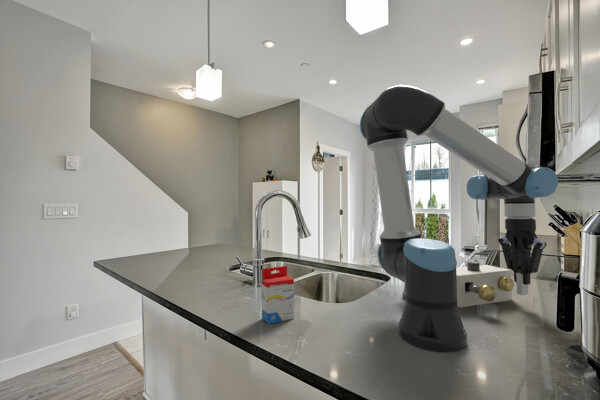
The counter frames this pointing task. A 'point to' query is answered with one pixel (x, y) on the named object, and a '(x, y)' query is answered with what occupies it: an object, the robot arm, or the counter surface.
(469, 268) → the dial
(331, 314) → the counter surface
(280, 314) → the ink box
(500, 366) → the counter surface
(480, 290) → the knob left
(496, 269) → the console
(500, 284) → the knob right
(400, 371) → the counter surface
